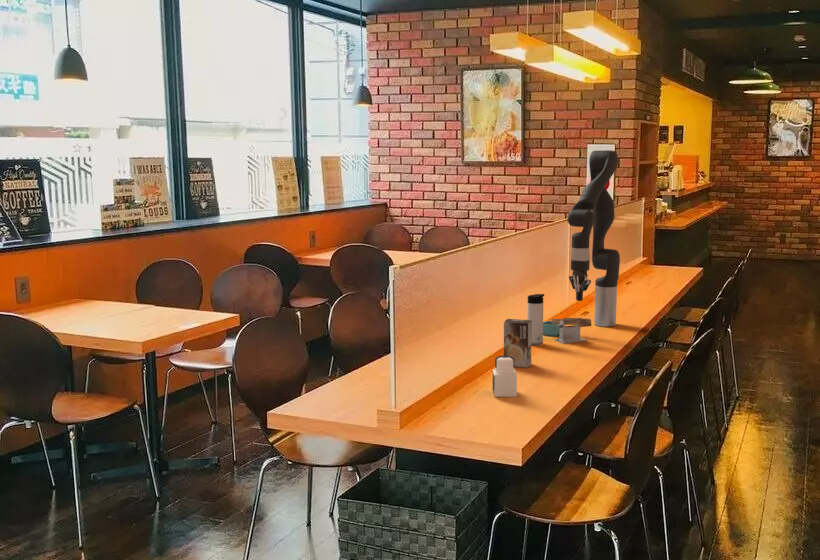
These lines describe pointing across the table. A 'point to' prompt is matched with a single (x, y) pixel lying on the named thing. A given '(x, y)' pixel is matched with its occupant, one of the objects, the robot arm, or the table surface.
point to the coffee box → (518, 341)
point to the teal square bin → (551, 329)
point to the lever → (574, 321)
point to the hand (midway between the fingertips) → (579, 300)
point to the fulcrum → (569, 334)
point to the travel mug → (535, 318)
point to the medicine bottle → (504, 377)
